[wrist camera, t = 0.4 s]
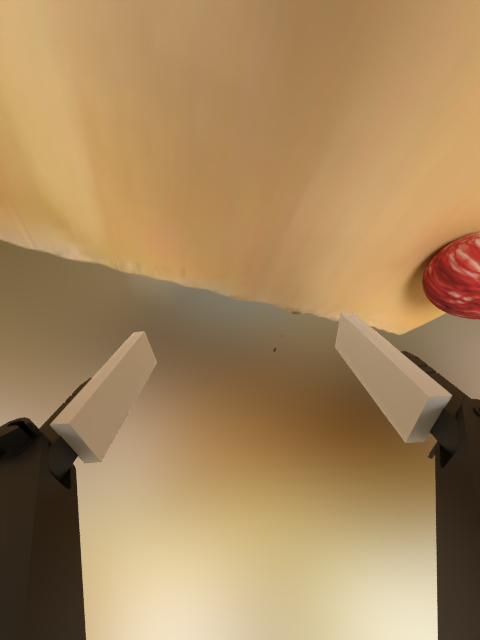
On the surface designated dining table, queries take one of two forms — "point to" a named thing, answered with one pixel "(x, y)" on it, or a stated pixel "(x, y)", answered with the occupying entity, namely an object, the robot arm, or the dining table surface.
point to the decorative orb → (456, 278)
